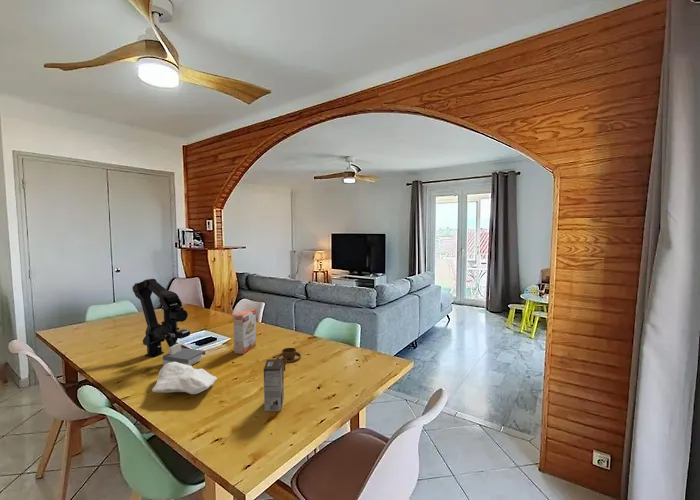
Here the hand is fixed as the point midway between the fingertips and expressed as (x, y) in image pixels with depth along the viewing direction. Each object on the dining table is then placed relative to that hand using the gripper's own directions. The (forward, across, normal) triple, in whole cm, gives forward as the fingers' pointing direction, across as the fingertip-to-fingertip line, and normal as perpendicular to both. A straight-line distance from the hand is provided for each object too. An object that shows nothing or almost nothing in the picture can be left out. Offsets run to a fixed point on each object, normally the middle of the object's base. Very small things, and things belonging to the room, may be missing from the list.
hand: (171, 349), depth 170 cm
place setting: (+7, +54, +16) cm, 57 cm away
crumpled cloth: (+6, +27, -22) cm, 36 cm away
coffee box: (+6, +70, -22) cm, 74 cm away
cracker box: (+6, +26, +24) cm, 36 cm away
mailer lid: (+3, +8, 0) cm, 8 cm away
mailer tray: (+6, +6, 0) cm, 9 cm away
